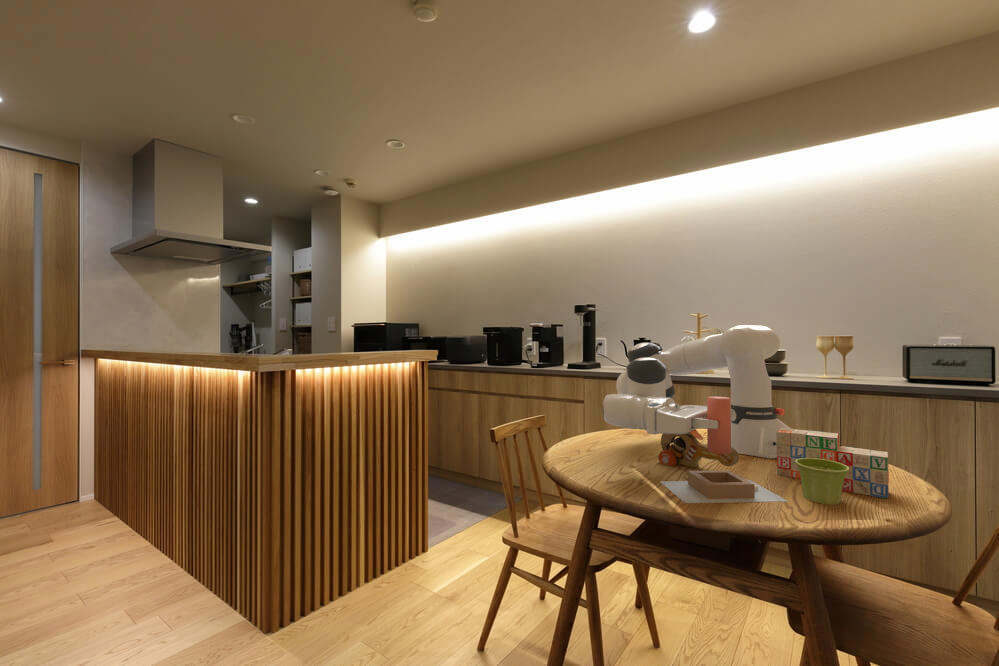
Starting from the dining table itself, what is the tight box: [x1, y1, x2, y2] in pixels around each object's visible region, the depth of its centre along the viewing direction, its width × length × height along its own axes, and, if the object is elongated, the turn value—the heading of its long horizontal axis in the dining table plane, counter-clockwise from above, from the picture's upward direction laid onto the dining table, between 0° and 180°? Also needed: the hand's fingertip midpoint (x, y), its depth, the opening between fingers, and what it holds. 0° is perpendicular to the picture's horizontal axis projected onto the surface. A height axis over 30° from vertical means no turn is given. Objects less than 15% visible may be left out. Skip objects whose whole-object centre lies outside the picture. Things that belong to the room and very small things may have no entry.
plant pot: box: [795, 458, 849, 505], centre depth 97 cm, size 9×9×9 cm
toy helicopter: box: [657, 429, 740, 468], centre depth 120 cm, size 8×21×14 cm, turn 38°
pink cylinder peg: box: [706, 396, 731, 454], centre depth 102 cm, size 5×5×12 cm
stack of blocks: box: [776, 428, 890, 499], centre depth 109 cm, size 21×6×12 cm, turn 48°
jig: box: [659, 469, 788, 504], centre depth 102 cm, size 22×14×4 cm, turn 92°
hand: (723, 422), depth 102 cm, fingers closed on pink cylinder peg, 5 cm apart
